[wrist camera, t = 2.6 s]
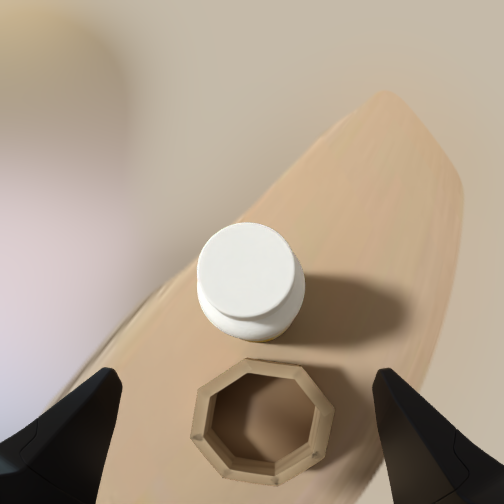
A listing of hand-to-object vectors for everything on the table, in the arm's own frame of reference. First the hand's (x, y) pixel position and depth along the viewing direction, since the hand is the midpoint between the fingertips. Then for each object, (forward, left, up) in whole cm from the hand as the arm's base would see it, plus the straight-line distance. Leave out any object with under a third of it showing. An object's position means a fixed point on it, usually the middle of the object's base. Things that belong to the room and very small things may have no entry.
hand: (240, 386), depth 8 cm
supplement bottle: (+4, +1, -11) cm, 12 cm away
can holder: (-4, -1, -11) cm, 12 cm away
